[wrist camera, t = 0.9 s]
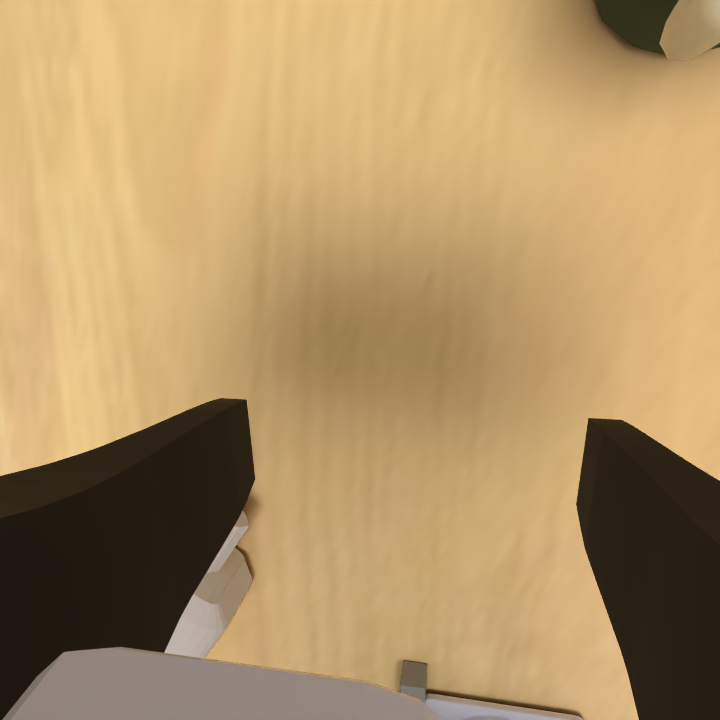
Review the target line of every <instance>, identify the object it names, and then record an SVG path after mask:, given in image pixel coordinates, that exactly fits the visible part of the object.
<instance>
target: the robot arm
mask: <svg viewBox="0 0 720 720" xmlns="http://www.w3.org/2000/svg"><path fill="white" fill-rule="evenodd" d="M254 480H255V473H254V464H253V455H252V446H251V436H250V427H249V418H248V409H247V400H243V399H224V398H220V399H216V400H213V401H210V402H207V403H204V404H202V405H199V406H197V407H194V408H192V409H189V410H187V411H185V412H183V413H180V414H178V415H176V416H173V417H171V418H169V419H167V420H164V421H162V422H160V423H157V424H155V425H153V426H151V427H148V428H146V429H144V430H141V431H139V432H136V433H134V434H131V435H129V436H126V437H124V438H121V439H119V440H116V441H114V442H111V443H109V444H106V445H104V446H101V447H99V448H96V449H93V450H90V451H87V452H84V453H81V454H79V455H75V456H72V457H69V458H66V459H63V460H59V461H56V462H53V463H50V464H46V465H43V466H39V467H35V468H31V469H27V470H23V471H19V472H15V473H11V474H7V475H3V476H0V720H583V719H582V718H581V717H579V716H576V715H570V714H564V713H557V712H550V711H544V710H537V709H530V708H524V707H517V706H511V705H504V704H497V703H491V702H484V701H477V700H471V699H464V698H458V697H451V696H444V695H438V694H426V698H425V703H424V702H422V701H421V700H420V699H418V698H415V697H412V696H409V695H406V694H403V693H400V692H397V691H394V690H391V689H388V688H385V687H382V686H379V685H376V684H373V683H370V682H367V681H363V680H355V679H348V678H341V677H334V676H327V675H320V674H312V673H305V672H298V671H291V670H284V669H276V668H269V667H262V666H255V665H248V664H240V663H233V662H226V661H219V660H212V659H204V658H197V657H190V656H183V655H176V654H168V653H164V652H165V650H166V648H167V646H168V643H169V641H170V639H171V637H172V635H173V633H174V631H175V628H176V626H177V624H178V622H179V620H180V618H181V616H182V614H183V612H184V610H185V608H186V607H187V605H188V603H189V601H190V599H191V597H192V596H193V594H194V592H195V591H196V589H197V588H198V586H199V584H200V583H201V581H202V579H203V578H204V576H205V574H206V573H207V571H208V569H209V568H210V566H211V564H212V563H213V561H214V559H215V558H216V556H217V554H218V553H219V551H220V549H221V548H222V546H223V544H224V543H225V541H226V539H227V538H228V536H229V534H230V532H231V531H232V529H233V527H234V526H235V524H236V522H237V520H238V519H239V517H240V515H241V513H242V510H243V508H244V506H245V503H246V501H247V499H248V496H249V493H250V491H251V488H252V486H253V483H254ZM576 505H577V511H578V516H579V521H580V527H581V532H582V537H583V541H584V546H585V550H586V553H587V556H588V559H589V561H590V564H591V567H592V570H593V573H594V576H595V579H596V582H597V585H598V587H599V590H600V593H601V596H602V599H603V601H604V604H605V607H606V610H607V613H608V615H609V618H610V621H611V624H612V627H613V630H614V632H615V635H616V638H617V641H618V644H619V646H620V649H621V652H622V656H623V659H624V662H625V666H626V669H627V672H628V676H629V680H630V684H631V688H632V692H633V697H634V701H635V705H636V709H637V713H638V717H639V720H720V481H719V480H717V479H716V478H714V477H712V476H711V475H709V474H707V473H706V472H704V471H702V470H701V469H699V468H697V467H696V466H694V465H693V464H691V463H689V462H688V461H686V460H685V459H683V458H682V457H680V456H678V455H677V454H675V453H674V452H672V451H671V450H669V449H668V448H666V447H665V446H663V445H662V444H660V443H659V442H657V441H656V440H654V439H652V438H651V437H649V436H648V435H646V434H645V433H643V432H642V431H640V430H638V429H637V428H635V427H634V426H632V425H630V424H628V423H626V422H624V421H622V420H613V419H594V418H588V426H587V433H586V440H585V447H584V454H583V461H582V468H581V475H580V482H579V489H578V496H577V503H576Z"/></svg>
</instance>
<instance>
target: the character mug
mask: <svg viewBox="0 0 720 720" xmlns="http://www.w3.org/2000/svg"><path fill="white" fill-rule="evenodd" d="M596 2H597V5H598V8H599V12H600V15H601V18H602V20H603V21H604V22H605V23H607V24H608V25H609V26H610V27H611V28H613V29H614V30H615V31H616V32H617V33H619V34H620V35H621V36H622V37H623V38H625V39H626V40H627V41H628V42H629V43H631V44H632V45H633V46H634V47H638V48H642V49H647V50H651V51H655V52H659V53H663V54H666V56H667V58H668V59H670V60H693V59H694V58H696V57H698V56H699V55H701V54H703V53H704V52H706V51H707V50H709V49H714V48H718V47H720V0H596Z"/></svg>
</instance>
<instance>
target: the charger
mask: <svg viewBox="0 0 720 720" xmlns="http://www.w3.org/2000/svg"><path fill="white" fill-rule="evenodd" d="M248 527H249V524H248V520H247V517H246V514H245V513H244V512H243V510H242V513H241V515H240V517H239V519H238V520H237V522H236V524H235V526H234V527H233V529H232V531H231V532H230V534H229V536H228V538H227V539H226V541H225V543H224V544H223V546H222V548H221V549H220V551H219V553H218V554H217V556H216V558H215V559H214V561H213V563H212V564H211V566H210V568H209V569H208V571H207V573H206V574H205V576H204V578H203V579H202V581H201V583H200V584H199V586H198V588H197V589H196V591H195V592H194V594H193V596H192V597H191V599H190V601H189V603H188V605H187V607H186V608H185V610H184V612H183V614H182V616H181V618H180V620H179V622H178V624H177V626H176V628H175V631H174V633H173V635H172V637H171V639H170V641H169V643H168V646H167V648H166V650H165V652H164V653H168V654H176V655H183V656H190V657H197V658H204V659H205V657H206V656H207V655H208V653H209V652H210V651H211V649H212V648H213V646H214V645H215V644H216V642H217V641H218V640H219V638H220V637H221V635H222V634H223V633H224V631H225V630H226V629H227V627H228V625H229V624H230V622H231V620H232V618H233V616H234V615H235V613H236V611H237V609H238V607H239V606H240V604H241V602H242V600H243V598H244V597H245V595H246V593H247V591H248V589H249V588H250V586H251V584H252V577H251V574H250V572H249V569H248V566H247V564H246V561H245V558H244V556H243V555H242V553H241V552H240V551H239V550H237V549H236V548H235V546H236V545H237V543H238V542H239V540H240V539H241V538H242V536H243V535H244V533H245V532H246V530H247V529H248Z"/></svg>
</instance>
